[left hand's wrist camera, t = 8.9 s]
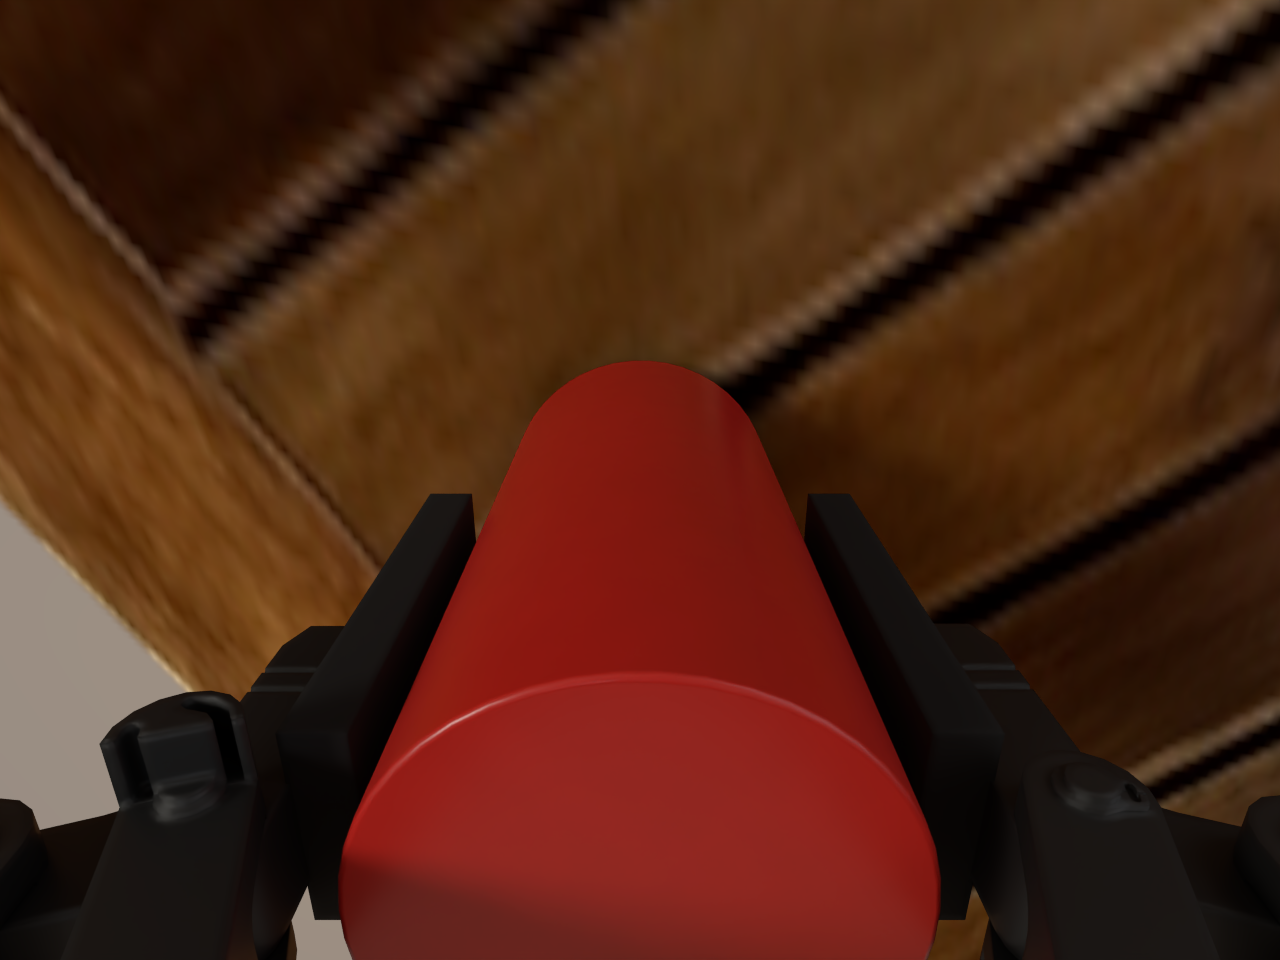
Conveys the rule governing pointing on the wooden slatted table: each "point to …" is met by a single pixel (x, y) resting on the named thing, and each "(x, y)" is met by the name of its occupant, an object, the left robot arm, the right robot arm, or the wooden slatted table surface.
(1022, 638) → the wooden slatted table surface
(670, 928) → the red cylinder
